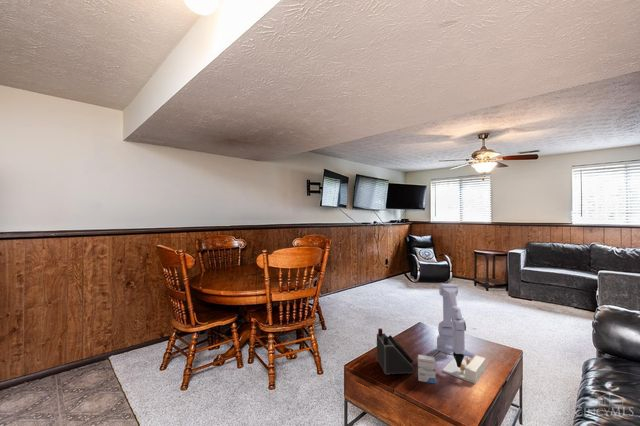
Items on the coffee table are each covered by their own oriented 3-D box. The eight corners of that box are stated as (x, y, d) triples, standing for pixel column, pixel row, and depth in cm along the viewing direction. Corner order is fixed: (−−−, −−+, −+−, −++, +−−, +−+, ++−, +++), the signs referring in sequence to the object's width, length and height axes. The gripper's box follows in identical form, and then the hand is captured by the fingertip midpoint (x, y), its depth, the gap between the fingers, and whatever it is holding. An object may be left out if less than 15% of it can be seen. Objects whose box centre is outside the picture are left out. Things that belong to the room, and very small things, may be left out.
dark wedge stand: (414, 375, 151) (414, 338, 152) (385, 376, 150) (384, 339, 151) (403, 360, 167) (403, 326, 168) (376, 361, 166) (376, 327, 167)
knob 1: (460, 372, 151) (460, 364, 151) (462, 369, 154) (462, 362, 154) (466, 374, 149) (466, 366, 149) (468, 371, 152) (468, 364, 152)
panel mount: (442, 371, 154) (442, 360, 155) (455, 358, 169) (455, 348, 169) (475, 384, 143) (475, 372, 143) (486, 368, 157) (486, 358, 157)
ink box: (435, 378, 148) (434, 356, 148) (435, 383, 143) (435, 360, 143) (418, 375, 151) (417, 353, 151) (418, 380, 146) (417, 358, 146)
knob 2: (466, 365, 158) (466, 359, 158) (468, 363, 160) (468, 356, 160) (471, 367, 156) (471, 360, 156) (474, 365, 158) (473, 358, 158)
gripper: (442, 340, 156) (442, 364, 156) (470, 348, 146) (471, 374, 146) (447, 336, 161) (447, 359, 161) (474, 344, 151) (475, 369, 151)
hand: (459, 366), depth 154 cm, fingers closed
